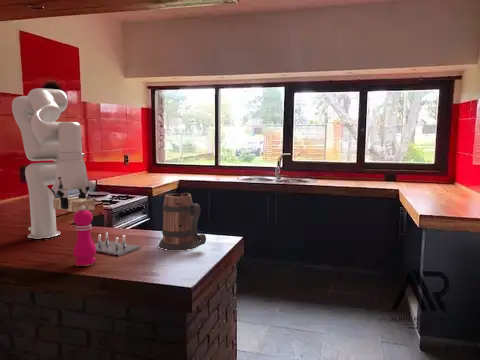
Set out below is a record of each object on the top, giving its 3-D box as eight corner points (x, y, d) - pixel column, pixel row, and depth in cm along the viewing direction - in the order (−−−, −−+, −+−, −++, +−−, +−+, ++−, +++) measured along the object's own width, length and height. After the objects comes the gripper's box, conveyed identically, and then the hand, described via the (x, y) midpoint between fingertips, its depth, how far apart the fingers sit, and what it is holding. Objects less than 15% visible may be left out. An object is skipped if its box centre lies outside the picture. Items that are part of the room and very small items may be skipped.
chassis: (83, 249, 151) (83, 235, 151) (106, 242, 161) (105, 229, 160) (118, 256, 143) (118, 241, 142) (140, 248, 152) (139, 234, 151)
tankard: (148, 245, 157) (147, 194, 155) (183, 236, 169) (181, 190, 167) (186, 257, 141) (184, 201, 139) (220, 247, 153) (220, 196, 151)
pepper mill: (99, 260, 138) (97, 203, 136) (92, 267, 131) (89, 207, 129) (78, 260, 138) (75, 203, 136) (70, 267, 131) (67, 207, 128)
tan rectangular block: (53, 208, 144) (52, 199, 144) (69, 205, 150) (69, 196, 149) (78, 212, 137) (78, 202, 137) (94, 209, 143) (94, 199, 142)
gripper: (84, 155, 151) (87, 202, 153) (41, 158, 136) (45, 209, 138) (98, 156, 147) (100, 204, 149) (55, 158, 132) (58, 212, 134)
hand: (73, 206), depth 143 cm, fingers closed on tan rectangular block, 6 cm apart
